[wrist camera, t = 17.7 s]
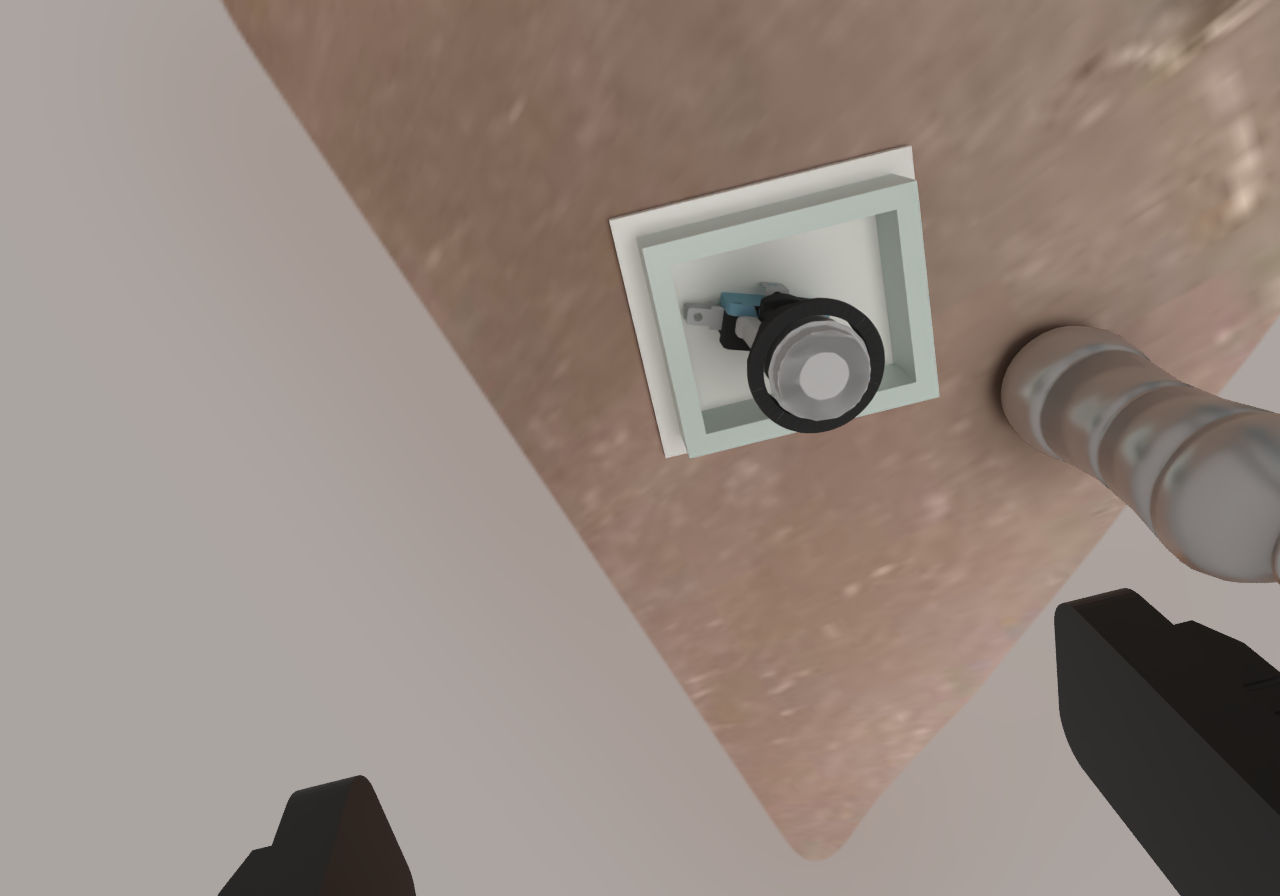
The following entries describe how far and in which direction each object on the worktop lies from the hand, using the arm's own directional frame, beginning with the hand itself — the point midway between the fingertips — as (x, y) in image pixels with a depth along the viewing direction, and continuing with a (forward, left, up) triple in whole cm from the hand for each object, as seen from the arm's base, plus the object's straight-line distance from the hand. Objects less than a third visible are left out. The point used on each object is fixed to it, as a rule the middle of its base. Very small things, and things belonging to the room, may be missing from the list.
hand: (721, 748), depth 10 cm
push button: (+5, +7, -34) cm, 35 cm away
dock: (+5, +8, -34) cm, 35 cm away
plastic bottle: (+12, +21, -34) cm, 42 cm away
